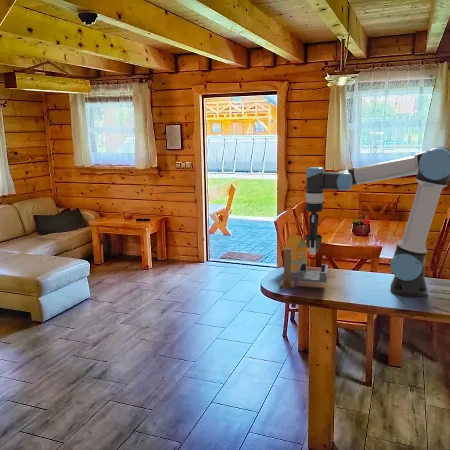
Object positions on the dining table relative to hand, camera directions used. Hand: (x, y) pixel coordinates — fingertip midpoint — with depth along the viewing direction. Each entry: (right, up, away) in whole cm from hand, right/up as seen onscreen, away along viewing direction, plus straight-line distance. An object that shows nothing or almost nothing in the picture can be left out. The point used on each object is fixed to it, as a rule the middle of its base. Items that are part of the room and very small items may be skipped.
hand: (313, 251), depth 202 cm
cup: (0, 0, 0) cm, 0 cm away
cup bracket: (-4, -17, +5) cm, 18 cm away
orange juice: (-4, -13, +25) cm, 28 cm away
